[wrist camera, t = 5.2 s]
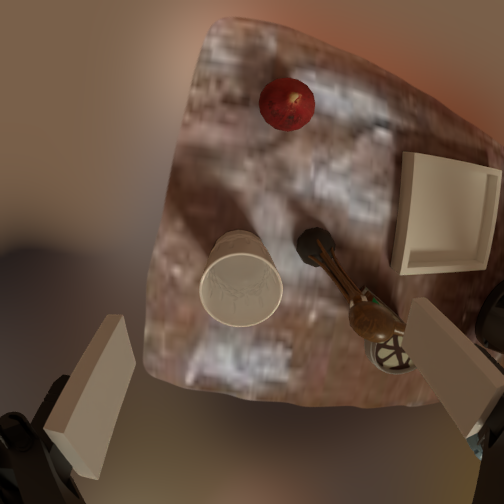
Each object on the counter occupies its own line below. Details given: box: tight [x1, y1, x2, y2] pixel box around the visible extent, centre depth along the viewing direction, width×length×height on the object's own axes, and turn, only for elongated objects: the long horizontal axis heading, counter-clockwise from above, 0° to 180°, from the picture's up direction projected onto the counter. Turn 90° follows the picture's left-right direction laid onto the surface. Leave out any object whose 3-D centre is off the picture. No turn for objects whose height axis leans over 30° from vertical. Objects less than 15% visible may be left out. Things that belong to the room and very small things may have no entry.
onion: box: [259, 78, 315, 132], centre depth 29 cm, size 6×6×8 cm
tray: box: [390, 151, 502, 275], centre depth 36 cm, size 18×16×3 cm
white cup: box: [199, 229, 283, 327], centre depth 33 cm, size 8×8×10 cm
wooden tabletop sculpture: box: [297, 227, 406, 343], centre depth 29 cm, size 6×5×20 cm
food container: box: [360, 285, 417, 374], centre depth 38 cm, size 12×6×10 cm, turn 51°
